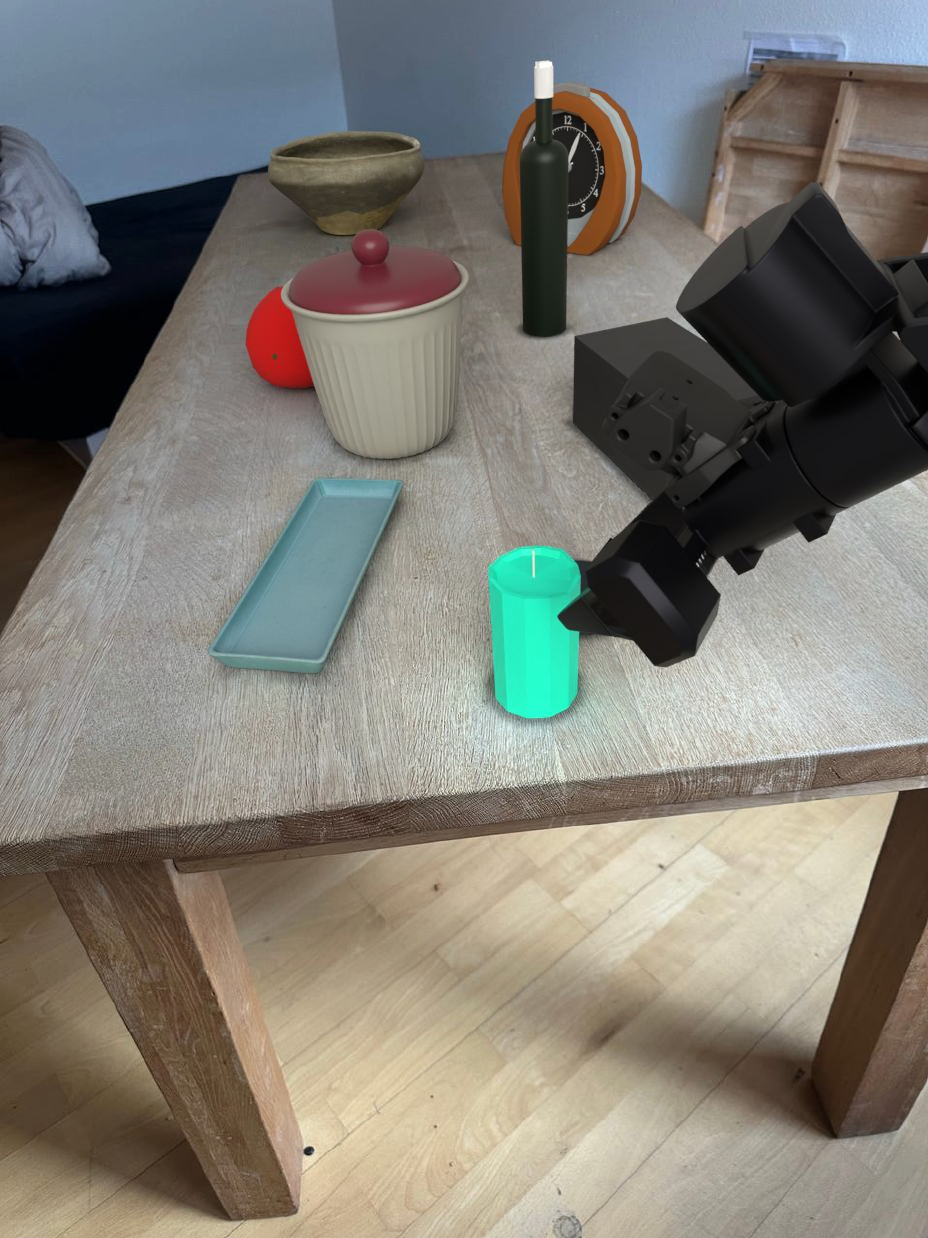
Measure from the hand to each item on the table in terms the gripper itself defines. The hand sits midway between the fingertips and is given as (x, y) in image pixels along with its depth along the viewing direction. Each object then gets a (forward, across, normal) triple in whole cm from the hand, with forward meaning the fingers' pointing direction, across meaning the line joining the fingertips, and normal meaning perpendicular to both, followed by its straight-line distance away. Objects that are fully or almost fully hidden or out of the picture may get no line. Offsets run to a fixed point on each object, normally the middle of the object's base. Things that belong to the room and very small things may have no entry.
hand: (595, 578), depth 51 cm
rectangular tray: (+27, -4, -11) cm, 29 cm away
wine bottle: (+32, -62, -16) cm, 71 cm away
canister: (+33, -28, -17) cm, 47 cm away
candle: (+11, 0, +5) cm, 12 cm away
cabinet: (+14, -36, +2) cm, 39 cm away
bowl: (+72, -94, -55) cm, 130 cm away
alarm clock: (+42, -98, -26) cm, 109 cm away
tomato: (+46, -36, -30) cm, 66 cm away
